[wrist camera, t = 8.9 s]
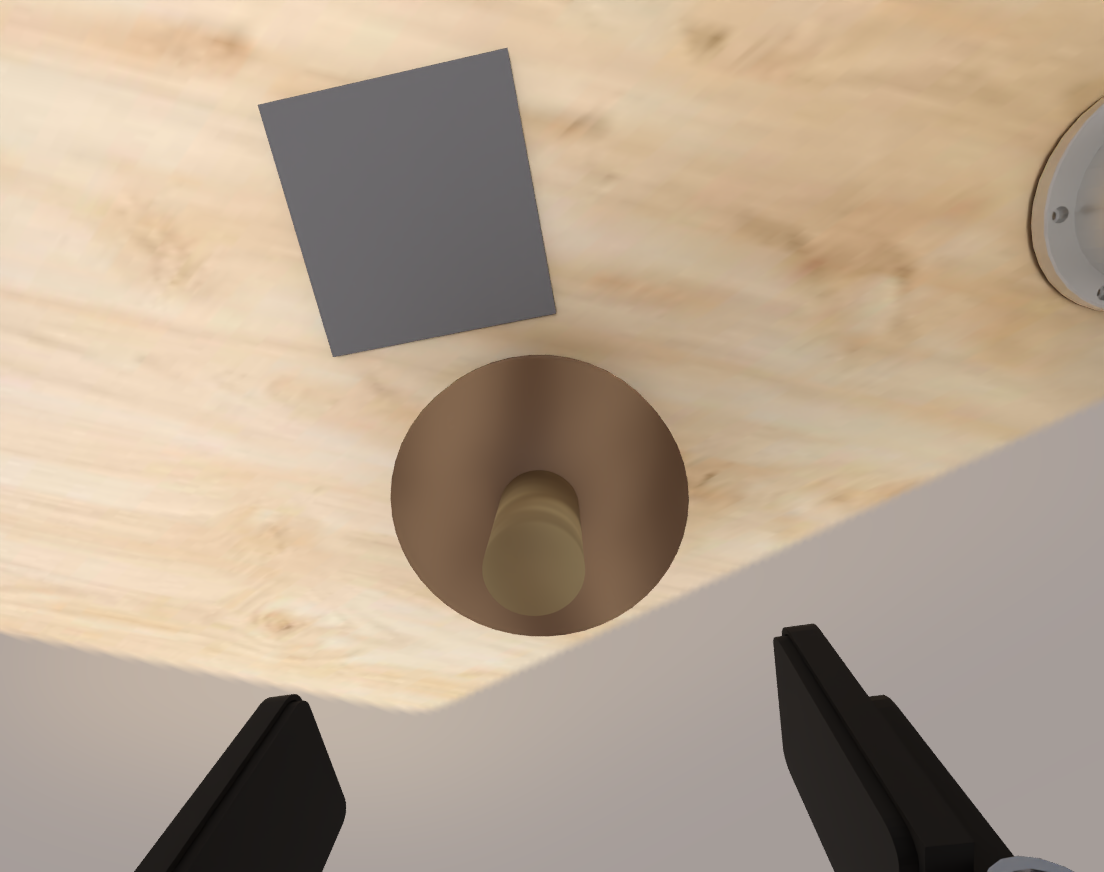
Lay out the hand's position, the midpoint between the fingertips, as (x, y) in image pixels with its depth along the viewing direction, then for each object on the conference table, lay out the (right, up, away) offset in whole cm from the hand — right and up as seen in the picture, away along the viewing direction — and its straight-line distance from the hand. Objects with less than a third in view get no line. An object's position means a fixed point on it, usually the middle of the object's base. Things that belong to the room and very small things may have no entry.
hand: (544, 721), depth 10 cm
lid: (0, +3, +12) cm, 12 cm away
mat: (-8, +19, +20) cm, 29 cm away
